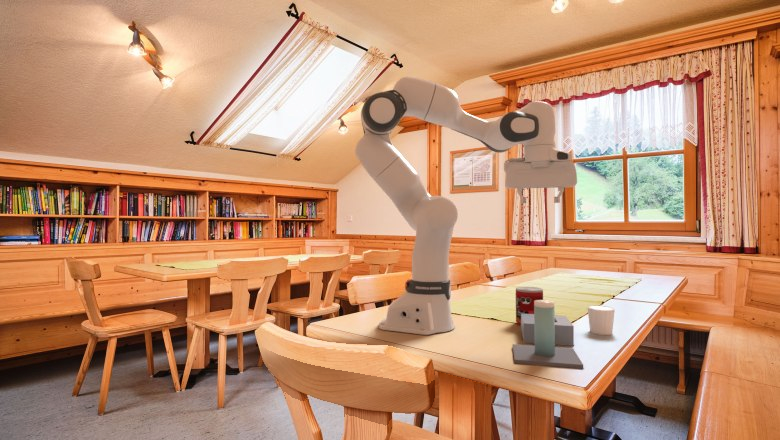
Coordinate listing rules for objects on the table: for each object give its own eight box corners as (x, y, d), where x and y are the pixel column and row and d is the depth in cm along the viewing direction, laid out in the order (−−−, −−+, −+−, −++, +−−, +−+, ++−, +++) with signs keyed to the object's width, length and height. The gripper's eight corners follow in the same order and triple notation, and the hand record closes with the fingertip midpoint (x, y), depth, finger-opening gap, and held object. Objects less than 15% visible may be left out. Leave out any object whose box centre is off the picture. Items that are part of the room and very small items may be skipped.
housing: (523, 342, 107) (523, 323, 107) (521, 330, 118) (520, 313, 118) (573, 345, 104) (573, 326, 104) (565, 333, 115) (565, 315, 115)
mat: (514, 363, 91) (514, 359, 91) (512, 347, 102) (512, 344, 102) (583, 368, 87) (583, 364, 87) (573, 351, 99) (572, 348, 99)
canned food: (511, 321, 129) (511, 286, 130) (536, 320, 130) (535, 286, 130) (522, 327, 122) (522, 290, 122) (547, 326, 123) (547, 290, 123)
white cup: (583, 329, 120) (583, 305, 120) (607, 329, 120) (607, 305, 120) (594, 335, 113) (594, 310, 113) (619, 335, 113) (619, 310, 113)
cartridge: (535, 355, 93) (535, 303, 94) (533, 350, 98) (533, 299, 98) (556, 357, 92) (555, 303, 92) (553, 351, 97) (553, 300, 97)
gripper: (504, 156, 122) (504, 203, 122) (578, 153, 117) (578, 201, 117) (503, 160, 129) (503, 204, 128) (573, 157, 123) (574, 203, 123)
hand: (540, 203), depth 123 cm, fingers open, 8 cm apart
